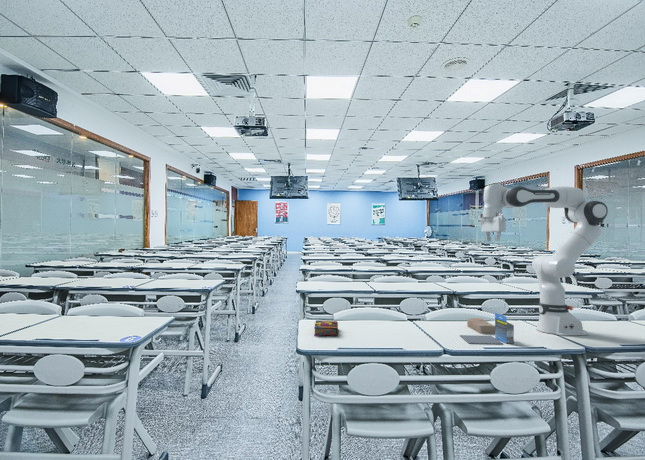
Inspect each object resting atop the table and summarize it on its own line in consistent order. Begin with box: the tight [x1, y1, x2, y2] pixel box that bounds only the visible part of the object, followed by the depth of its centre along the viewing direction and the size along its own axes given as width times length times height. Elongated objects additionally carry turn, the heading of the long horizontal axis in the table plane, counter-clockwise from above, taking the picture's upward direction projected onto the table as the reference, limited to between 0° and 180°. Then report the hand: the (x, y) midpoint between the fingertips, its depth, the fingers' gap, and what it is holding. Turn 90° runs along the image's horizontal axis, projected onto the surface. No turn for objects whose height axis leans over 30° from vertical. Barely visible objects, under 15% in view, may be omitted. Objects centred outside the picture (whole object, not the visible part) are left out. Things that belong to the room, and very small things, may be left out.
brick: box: [466, 317, 495, 335], centre depth 192 cm, size 17×8×5 cm, turn 1°
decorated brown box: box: [313, 319, 339, 338], centre depth 184 cm, size 11×16×5 cm
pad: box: [459, 334, 504, 345], centre depth 172 cm, size 15×13×1 cm
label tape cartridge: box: [494, 312, 515, 345], centre depth 171 cm, size 9×4×12 cm, turn 8°
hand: (492, 240), depth 192 cm, fingers open, 8 cm apart
